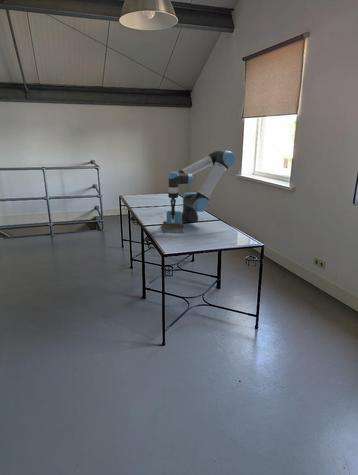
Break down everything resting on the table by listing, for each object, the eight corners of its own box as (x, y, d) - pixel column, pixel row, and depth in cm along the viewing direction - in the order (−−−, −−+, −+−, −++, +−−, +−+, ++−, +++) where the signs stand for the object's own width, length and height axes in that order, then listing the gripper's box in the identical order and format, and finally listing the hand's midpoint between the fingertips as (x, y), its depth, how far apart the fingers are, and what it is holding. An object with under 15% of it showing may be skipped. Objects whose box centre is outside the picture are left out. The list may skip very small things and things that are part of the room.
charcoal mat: (162, 228, 254) (162, 227, 254) (183, 229, 254) (183, 228, 254) (161, 232, 243) (161, 232, 243) (183, 233, 244) (183, 232, 243)
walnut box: (162, 224, 264) (162, 221, 263) (182, 225, 265) (182, 221, 264) (162, 228, 256) (162, 224, 255) (183, 228, 256) (183, 224, 255)
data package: (181, 225, 262) (182, 211, 259) (181, 227, 258) (182, 212, 254) (166, 225, 262) (166, 210, 259) (166, 227, 258) (166, 212, 254)
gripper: (168, 190, 260) (168, 219, 267) (168, 194, 243) (167, 224, 251) (178, 190, 260) (177, 219, 267) (178, 194, 244) (177, 225, 251)
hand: (172, 221), depth 259 cm, fingers closed on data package, 4 cm apart
